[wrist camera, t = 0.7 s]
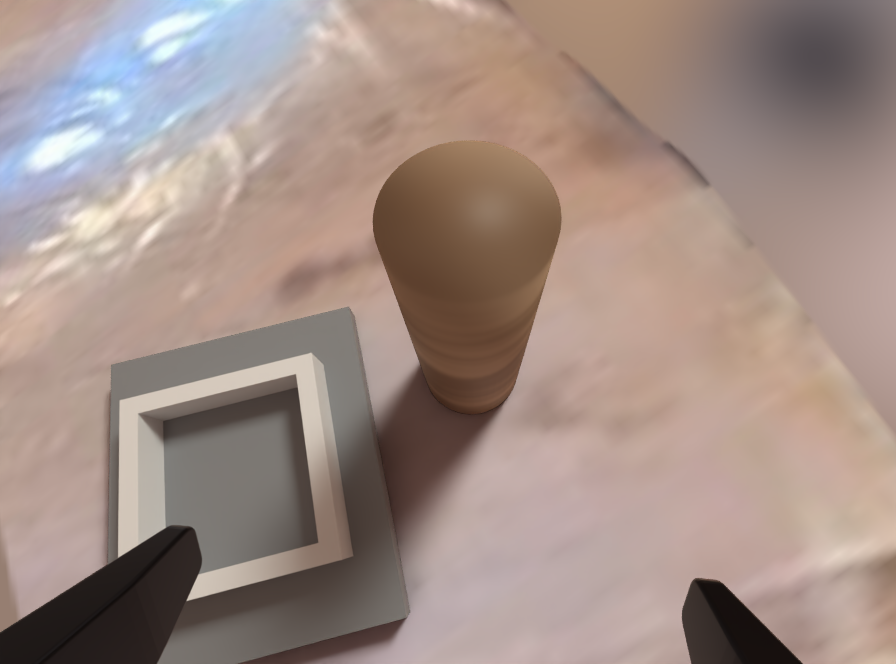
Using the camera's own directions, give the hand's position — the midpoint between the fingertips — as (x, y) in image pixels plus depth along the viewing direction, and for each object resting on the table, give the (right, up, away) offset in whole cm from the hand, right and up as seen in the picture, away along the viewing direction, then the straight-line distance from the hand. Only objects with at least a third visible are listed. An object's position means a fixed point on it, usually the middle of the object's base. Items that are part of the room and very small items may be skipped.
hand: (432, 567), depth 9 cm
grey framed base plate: (-9, -3, +14) cm, 17 cm away
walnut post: (+1, +2, +15) cm, 15 cm away
